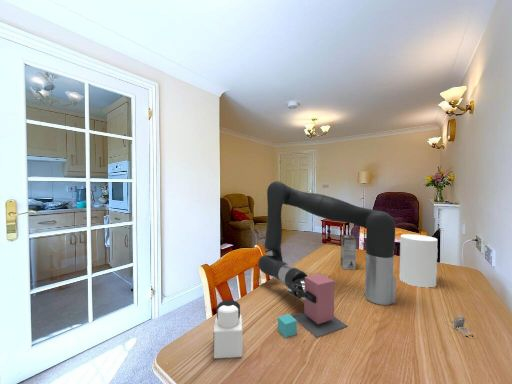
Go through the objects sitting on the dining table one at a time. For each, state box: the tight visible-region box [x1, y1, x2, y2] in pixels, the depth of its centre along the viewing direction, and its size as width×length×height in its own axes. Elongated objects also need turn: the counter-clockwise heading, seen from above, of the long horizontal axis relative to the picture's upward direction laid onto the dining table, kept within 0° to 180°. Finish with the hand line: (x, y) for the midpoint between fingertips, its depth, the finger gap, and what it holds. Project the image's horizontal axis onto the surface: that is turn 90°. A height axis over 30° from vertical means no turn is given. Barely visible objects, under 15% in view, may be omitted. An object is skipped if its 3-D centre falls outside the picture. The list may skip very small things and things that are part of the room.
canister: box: [399, 233, 438, 289], centre depth 104 cm, size 14×14×20 cm
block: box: [277, 313, 298, 339], centre depth 68 cm, size 4×4×4 cm
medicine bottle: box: [213, 299, 243, 359], centre depth 61 cm, size 7×7×12 cm
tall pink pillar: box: [303, 273, 336, 324], centre depth 73 cm, size 6×6×12 cm
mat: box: [291, 311, 348, 339], centre depth 74 cm, size 12×12×1 cm
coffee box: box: [340, 234, 357, 271], centre depth 123 cm, size 9×6×16 cm
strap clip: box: [453, 315, 474, 335], centre depth 70 cm, size 8×3×4 cm, turn 6°
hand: (324, 297), depth 71 cm, fingers closed on tall pink pillar, 6 cm apart
